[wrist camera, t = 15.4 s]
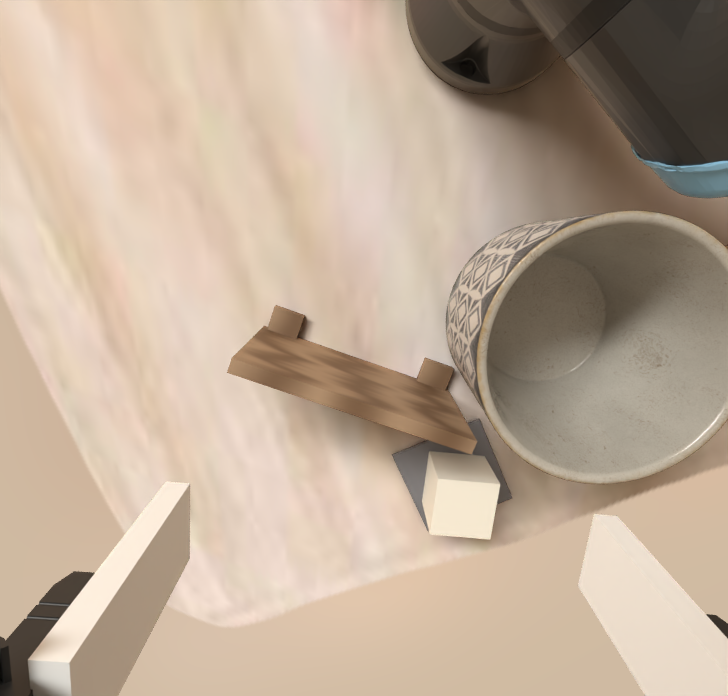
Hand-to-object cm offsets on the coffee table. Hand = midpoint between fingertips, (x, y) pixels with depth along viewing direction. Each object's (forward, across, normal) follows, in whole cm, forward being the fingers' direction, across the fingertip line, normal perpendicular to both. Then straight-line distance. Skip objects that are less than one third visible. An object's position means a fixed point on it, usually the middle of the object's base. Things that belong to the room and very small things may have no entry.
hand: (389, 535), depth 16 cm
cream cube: (+34, +10, -16) cm, 39 cm away
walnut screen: (+34, -1, -4) cm, 35 cm away
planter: (+35, +16, +3) cm, 39 cm away
